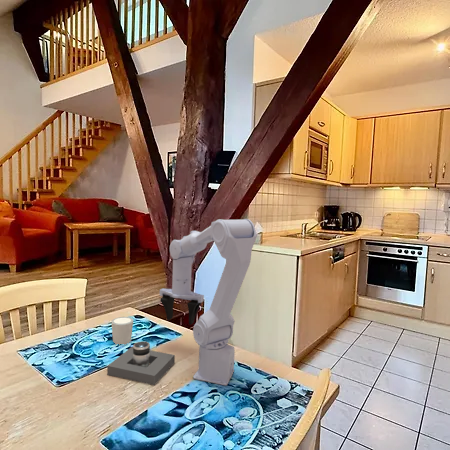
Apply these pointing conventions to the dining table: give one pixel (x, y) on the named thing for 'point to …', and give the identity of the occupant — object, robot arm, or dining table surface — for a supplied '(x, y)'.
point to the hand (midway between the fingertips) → (180, 321)
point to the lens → (141, 354)
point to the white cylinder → (122, 330)
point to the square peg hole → (141, 374)
